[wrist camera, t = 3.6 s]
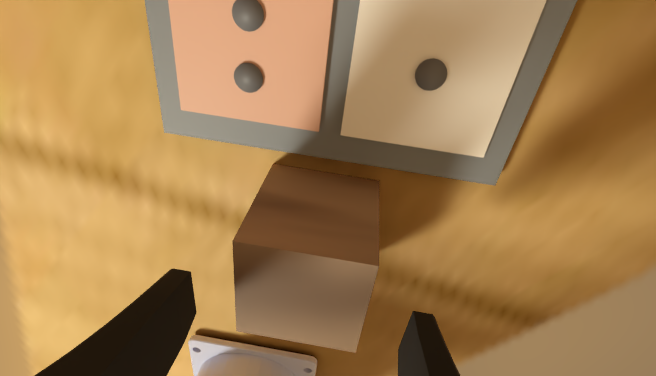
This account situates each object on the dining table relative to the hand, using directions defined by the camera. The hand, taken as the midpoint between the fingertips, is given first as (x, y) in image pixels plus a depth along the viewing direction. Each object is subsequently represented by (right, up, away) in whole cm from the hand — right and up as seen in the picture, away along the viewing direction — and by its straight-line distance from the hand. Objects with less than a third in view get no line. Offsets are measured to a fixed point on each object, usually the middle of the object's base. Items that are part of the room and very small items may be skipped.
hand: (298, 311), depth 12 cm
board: (+1, +9, +1) cm, 9 cm away
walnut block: (+1, +3, +5) cm, 5 cm away
